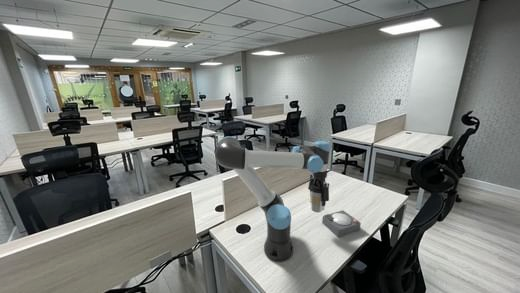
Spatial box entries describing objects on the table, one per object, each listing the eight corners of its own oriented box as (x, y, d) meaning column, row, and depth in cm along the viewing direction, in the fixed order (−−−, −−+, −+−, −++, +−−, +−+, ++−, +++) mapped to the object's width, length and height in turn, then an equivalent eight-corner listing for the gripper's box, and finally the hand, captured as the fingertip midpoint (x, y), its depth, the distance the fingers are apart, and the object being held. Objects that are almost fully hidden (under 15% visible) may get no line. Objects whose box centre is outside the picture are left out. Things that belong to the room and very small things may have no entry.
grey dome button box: (338, 237, 114) (339, 228, 112) (322, 223, 127) (322, 214, 125) (359, 230, 120) (361, 221, 118) (342, 216, 132) (343, 208, 131)
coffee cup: (325, 215, 112) (328, 190, 108) (308, 213, 114) (310, 189, 110) (324, 206, 121) (326, 183, 117) (307, 204, 123) (309, 181, 119)
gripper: (339, 175, 103) (334, 214, 109) (314, 162, 121) (311, 196, 128) (327, 178, 100) (323, 217, 106) (303, 163, 119) (301, 198, 125)
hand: (316, 206), depth 117 cm, fingers closed on coffee cup, 8 cm apart
